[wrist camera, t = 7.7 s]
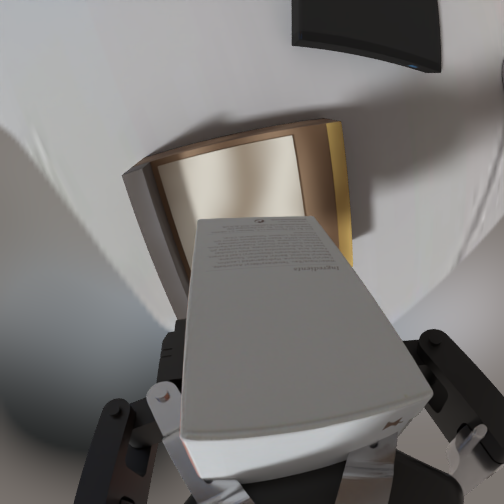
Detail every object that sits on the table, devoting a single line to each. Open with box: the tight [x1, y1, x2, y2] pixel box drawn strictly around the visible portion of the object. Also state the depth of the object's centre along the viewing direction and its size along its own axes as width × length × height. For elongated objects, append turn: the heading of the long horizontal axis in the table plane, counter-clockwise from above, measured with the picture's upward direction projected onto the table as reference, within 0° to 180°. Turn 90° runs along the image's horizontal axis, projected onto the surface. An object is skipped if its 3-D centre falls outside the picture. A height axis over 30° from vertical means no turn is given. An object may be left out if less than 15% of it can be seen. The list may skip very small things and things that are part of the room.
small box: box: [179, 216, 433, 484], centre depth 11 cm, size 8×6×10 cm
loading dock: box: [122, 118, 353, 320], centre depth 24 cm, size 16×13×6 cm
